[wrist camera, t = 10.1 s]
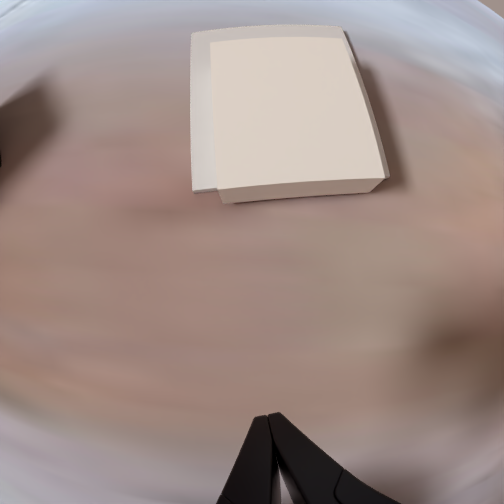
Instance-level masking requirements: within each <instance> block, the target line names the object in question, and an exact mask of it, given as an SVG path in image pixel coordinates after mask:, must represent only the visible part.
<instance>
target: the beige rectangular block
mask: <svg viewBox="0 0 504 504" xmlns="http://www.w3.org/2000/svg"><path fill="white" fill-rule="evenodd" d="M210 58H211V84H212V107H213V126H214V144H215V161H216V176H217V190H218V192H219V195H220V197H221V200H222V202H223V204H228V203H237V202H247V201H258V200H269V199H280V198H292V197H305V196H319V195H334V194H351V193H369V192H370V191H371V190H372V189H374V188H375V187H376V186H377V185H378V184H379V183H380V182H381V181H382V180H383V179H385V175H384V171H383V166H382V162H381V158H380V154H379V150H378V146H377V142H376V138H375V135H374V131H373V127H372V124H371V120H370V117H369V114H368V110H367V107H366V104H365V101H364V98H363V94H362V91H361V88H360V85H359V82H358V80H357V77H356V74H355V71H354V68H353V66H352V63H351V60H350V58H349V55H348V52H347V50H346V47H345V45H344V42H343V40H342V39H341V38H324V37H268V38H251V39H238V40H228V41H219V42H211V43H210Z"/></svg>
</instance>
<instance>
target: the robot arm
mask: <svg viewBox="0 0 504 504" xmlns="http://www.w3.org/2000/svg"><path fill="white" fill-rule="evenodd" d="M268 421H269V422H268ZM276 457H277V458H276ZM277 461H278V462H277ZM278 466H279V467H278ZM279 469H280V472H281V475H282V477H283V480H284V482H285V484H286V487H287V489H288V492H289V494H290V496H291V499H292V501H293V503H294V504H401V503H399V502H397V501H395V500H393V499H391V498H389V497H387V496H385V495H383V494H382V493H380V492H378V491H376V490H375V489H373V488H371V487H370V486H368V485H366V484H365V483H363V482H362V481H360V480H359V479H358V478H356V477H355V476H354V475H352V474H351V473H350V472H349V471H347V470H346V469H344V468H343V467H342V466H341V465H339V464H338V463H337V462H336V461H335V460H333V459H332V458H331V457H330V456H329V455H327V454H326V453H325V452H324V451H323V450H322V449H320V448H319V447H318V446H317V445H316V444H315V443H313V442H312V441H311V440H310V439H309V438H308V437H307V436H306V435H304V434H303V433H302V432H301V431H300V430H299V429H298V428H297V427H295V426H294V425H293V424H292V423H291V422H290V421H289V420H288V419H287V418H286V417H285V416H284V415H282V414H281V413H280V412H277V413H272V414H269V415H268V417H267V416H266V415H262V416H257V417H255V418H254V419H253V421H252V424H251V426H250V429H249V431H248V434H247V436H246V438H245V441H244V443H243V445H242V448H241V450H240V452H239V455H238V457H237V459H236V462H235V464H234V466H233V468H232V471H231V473H230V475H229V477H228V480H227V482H226V484H225V486H224V488H223V490H222V493H221V494H222V495H220V496H219V498H218V500H217V503H216V504H281V489H280V474H279Z"/></svg>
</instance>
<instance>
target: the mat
mask: <svg viewBox="0 0 504 504" xmlns="http://www.w3.org/2000/svg"><path fill="white" fill-rule="evenodd" d="M268 37H324V38H341V39H342V40H343V42H344V45H345V47H346V50H347V52H348V55H349V58H350V60H351V63H352V66H353V68H354V71H355V74H356V77H357V80H358V82H359V85H360V88H361V91H362V94H363V98H364V101H365V104H366V107H367V110H368V114H369V117H370V120H371V124H372V127H373V131H374V135H375V138H376V142H377V146H378V150H379V154H380V158H381V162H382V166H383V171H384V175H385V179H387V178H389V177H390V174H389V169H388V165H387V161H386V157H385V153H384V149H383V145H382V141H381V138H380V134H379V131H378V127H377V124H376V120H375V117H374V114H373V110H372V107H371V104H370V101H369V98H368V95H367V92H366V89H365V86H364V83H363V80H362V77H361V75H360V72H359V69H358V67H357V64H356V61H355V59H354V56H353V54H352V51H351V49H350V46H349V44H348V41H347V39H346V37H345V34H344V32H343V30H342V27H339V26H323V25H261V26H245V27H234V28H224V29H215V30H208V31H201V32H194V33H191V68H190V125H191V166H192V191H193V192H194V193H201V192H210V191H218V190H217V176H216V161H215V144H214V126H213V107H212V84H211V58H210V43H211V42H219V41H228V40H238V39H251V38H268Z"/></svg>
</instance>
